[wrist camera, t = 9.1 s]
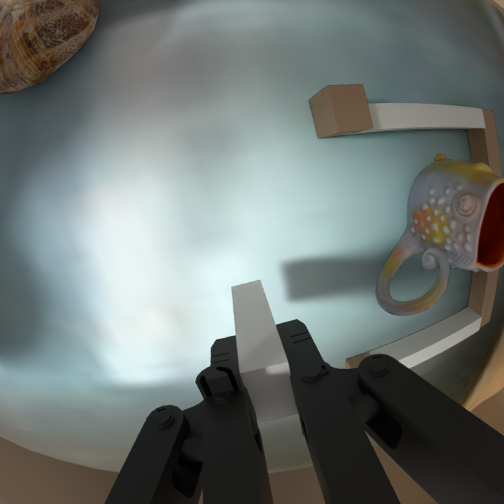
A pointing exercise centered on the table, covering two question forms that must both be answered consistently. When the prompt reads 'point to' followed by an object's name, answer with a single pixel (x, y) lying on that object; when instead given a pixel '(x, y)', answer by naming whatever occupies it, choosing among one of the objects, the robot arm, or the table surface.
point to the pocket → (482, 150)
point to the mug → (448, 228)
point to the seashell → (41, 38)
